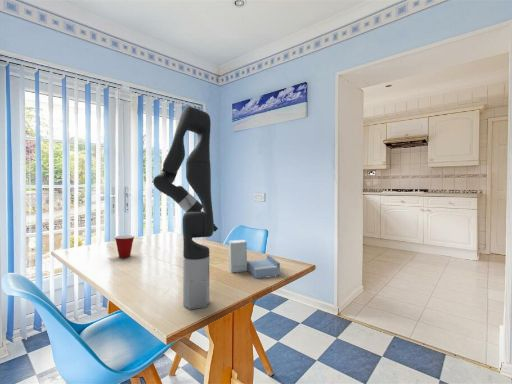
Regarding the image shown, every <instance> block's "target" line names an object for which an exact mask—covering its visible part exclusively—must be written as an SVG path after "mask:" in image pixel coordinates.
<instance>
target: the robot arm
mask: <svg viewBox="0 0 512 384" xmlns="http://www.w3.org/2000/svg"><path fill="white" fill-rule="evenodd" d="M211 123H212V122H211V116H210V115H209V113H207V112H206V111H204V110H202V109H198V108H196V107H193V106H190V105H189V106H185V108H183V110H182V112H181V114H180V116H179V119H178V123H177V125H176V129H175V132H174V136H173V139H172V141H171V145H170V147H169V150H168V152H167V154H166V156H165V158H164V161H163V163H162V168H161V171H160V172H159V173H158V174H156V175H155V176H154V178H153V179H152V181H153V182H152V183H153V186H154V187H155V189H157V190H158V191H159V192H160V193H162V194H164V195H166V196H167V197H170V198H171V199H172V200H173V201H174V202H175V203H176V204H178V206H179V207H180V208H181V209H182V211H184V213H183V216H182V237H183V238H182V239H183V240H182V241H183V247H182V248H183V252H182V253H183V254H182V256H183V257H182V259H183V261H182V263H183V265H182V266H183V267H182V270H183V273H182V274H183V277H182V278H183V284H182V286H183V287H182V290H183V291H182V293H183V299H182V300H183V302H182V303H183V306H184V307H185V308H187V309H188V310H196V309H203V308H207V307H208V305H209V303H210V248H209V247H208V246H206V245H204V244H200V243H197V242H196V241H194V240H193V239H197V238H210V237H212V236H213V234H214V232H216V231H217V230H218V229H219V228H218V226H216V224H215V223H214V220H215V219H214V213H213V212H214V210H213V201H212V182H211V181H212V174H211V173H212V171H211V158H210V157H211V153H210V145H211V144H210V142H211V141H210V139H211V128H212V127H211V126H212V125H211ZM187 131H189V132H192V133H194V134H196V135H197V140H196V145H195V147H194V148H193V149H192V150H191V152H190V153H189V155H188V157H187V158H186V161H185V177H186V181H187V183H188V184H189V186H190V187H191V189H192V190H193V191H194V192H195V194H196V196H197V197H198V199H199V200H200V201H199V200H198V199H196V197H195V196H194V195H192V194H191V193H190V192H189V191H188V190H187V189H185V188H184V187H183V186H182V185H175V184H173V183H174V181H175V179H176V177H177V175H178V171H179V170H180V167H181V166H182V165H183V162H184V160H185V157H186V149H185V148H186V147H185V143H184V141H185V139H184V138H185V136H186V133H187ZM202 210H203V211H202Z"/></svg>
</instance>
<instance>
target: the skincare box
mask: <svg viewBox="0 0 512 384" xmlns="http://www.w3.org/2000/svg"><path fill="white" fill-rule="evenodd" d="M247 246H248V243H247V241H246V240H245V239H238V240H237V239H236V240H235V239H232V240H228V259H229V261H228V263H229V266H228V267H229V270H230V272H231V273H232V272H233V273H239V272H240V273H242V272H247V271H248V269H247V261H248V251H247V250H248V247H247ZM231 273H230V274H231Z"/></svg>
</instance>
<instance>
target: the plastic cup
mask: <svg viewBox="0 0 512 384" xmlns="http://www.w3.org/2000/svg"><path fill="white" fill-rule="evenodd" d="M113 237H114V239H115V244H116V249H117V253H118V257H119V258H121V259H124V258H129V257H130V256H131V254H132V248H133V243H134V239H135V238H136V236H135V235H130V234H129V235H128V234H126V235H117V236H113Z"/></svg>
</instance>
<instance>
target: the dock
mask: <svg viewBox="0 0 512 384" xmlns="http://www.w3.org/2000/svg"><path fill="white" fill-rule="evenodd" d="M280 264H281V263H280V262H279V261H277V260H276V259H275V258H273V257H272V256H271V255H269V254H267V255H266V259H265V258H264V259H255V260H247V271H248V270H249V271H248V272H249V273H250V274H251V275H252V277H254V279H261V277H265V278H268V277H267V276H274V277H276V276H275V275H280V273H281V271H280V269H281V268H280V267H281V265H280Z"/></svg>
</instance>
